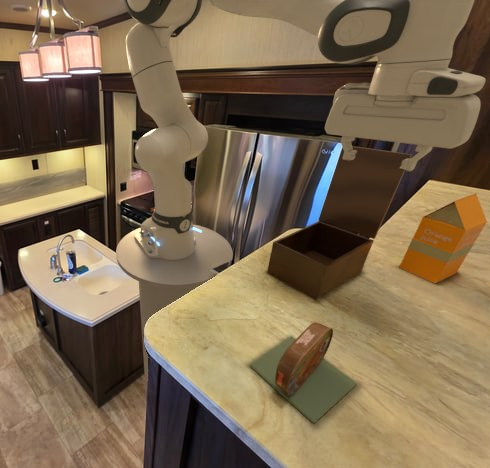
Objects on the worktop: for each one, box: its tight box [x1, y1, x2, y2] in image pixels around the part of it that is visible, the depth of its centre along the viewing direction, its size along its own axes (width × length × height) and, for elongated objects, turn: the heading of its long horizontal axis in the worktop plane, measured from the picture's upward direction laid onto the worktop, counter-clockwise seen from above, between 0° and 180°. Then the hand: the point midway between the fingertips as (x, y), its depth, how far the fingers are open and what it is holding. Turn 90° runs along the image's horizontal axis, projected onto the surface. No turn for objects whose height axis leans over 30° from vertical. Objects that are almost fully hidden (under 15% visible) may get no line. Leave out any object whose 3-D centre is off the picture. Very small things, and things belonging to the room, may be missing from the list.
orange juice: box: [398, 193, 488, 284], centre depth 68 cm, size 8×9×20 cm
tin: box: [275, 321, 334, 395], centre depth 49 cm, size 15×3×8 cm, turn 126°
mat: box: [249, 336, 358, 425], centre depth 51 cm, size 12×12×1 cm
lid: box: [318, 145, 413, 240], centre depth 71 cm, size 20×13×5 cm
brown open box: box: [266, 220, 375, 301], centre depth 73 cm, size 19×13×10 cm
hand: (375, 164), depth 54 cm, fingers open, 8 cm apart
